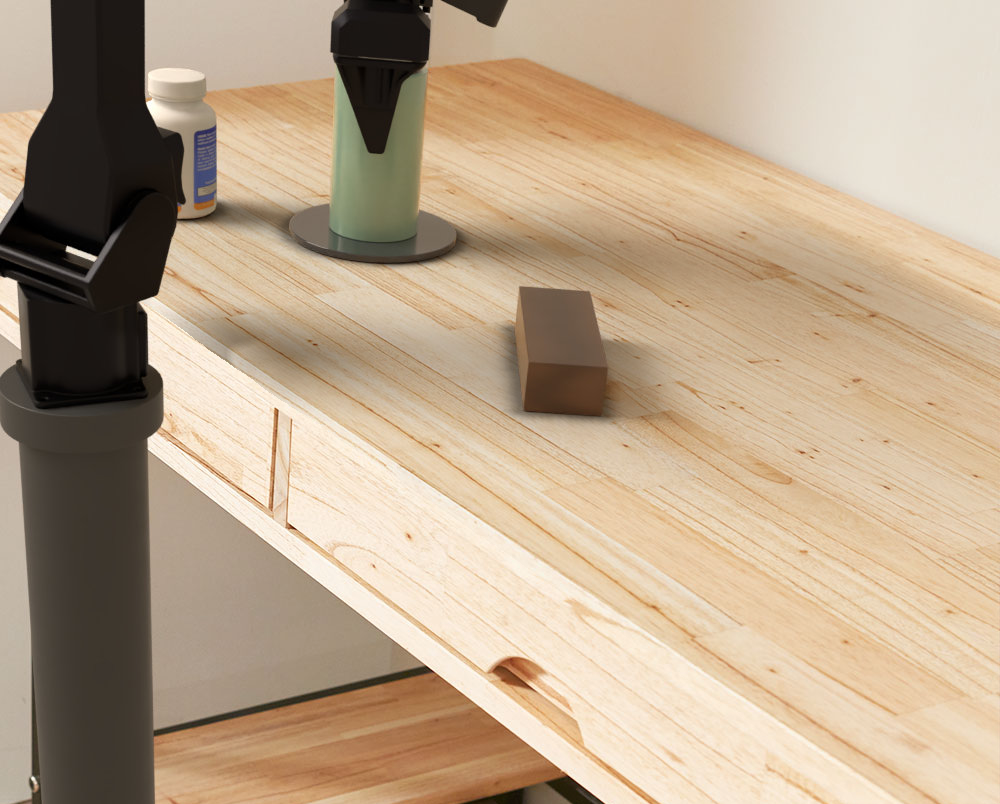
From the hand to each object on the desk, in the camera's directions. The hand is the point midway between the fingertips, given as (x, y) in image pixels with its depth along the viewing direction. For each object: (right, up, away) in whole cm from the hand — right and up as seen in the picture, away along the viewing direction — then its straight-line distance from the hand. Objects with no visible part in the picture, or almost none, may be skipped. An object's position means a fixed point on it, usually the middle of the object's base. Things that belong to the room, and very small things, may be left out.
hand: (378, 134), depth 108 cm
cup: (-5, -5, +2) cm, 7 cm away
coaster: (-1, -6, +3) cm, 7 cm away
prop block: (+12, -18, -16) cm, 26 cm away
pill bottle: (-15, -4, +5) cm, 16 cm away
